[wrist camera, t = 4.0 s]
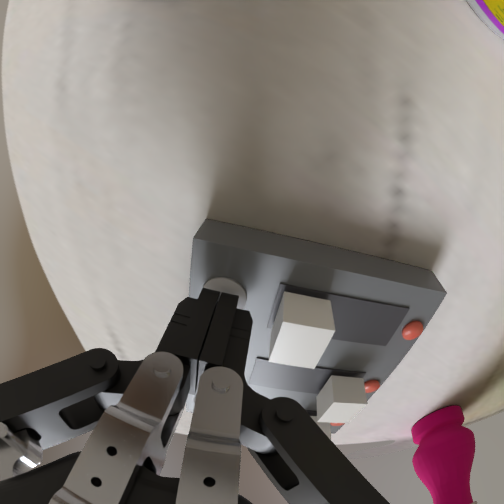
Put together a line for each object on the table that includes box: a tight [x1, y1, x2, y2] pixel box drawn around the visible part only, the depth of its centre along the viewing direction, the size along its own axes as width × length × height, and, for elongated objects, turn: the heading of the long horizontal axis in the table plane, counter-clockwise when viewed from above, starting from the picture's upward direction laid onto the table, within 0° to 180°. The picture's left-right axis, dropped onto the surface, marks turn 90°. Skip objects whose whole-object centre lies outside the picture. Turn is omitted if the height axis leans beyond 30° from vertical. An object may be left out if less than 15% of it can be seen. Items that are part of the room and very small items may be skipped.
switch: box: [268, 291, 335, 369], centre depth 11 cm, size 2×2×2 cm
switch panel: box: [186, 219, 447, 434], centre depth 15 cm, size 15×12×2 cm
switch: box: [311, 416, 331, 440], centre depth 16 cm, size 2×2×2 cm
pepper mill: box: [411, 405, 477, 504], centre depth 12 cm, size 7×7×20 cm
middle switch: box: [316, 375, 367, 423], centre depth 13 cm, size 2×2×2 cm
